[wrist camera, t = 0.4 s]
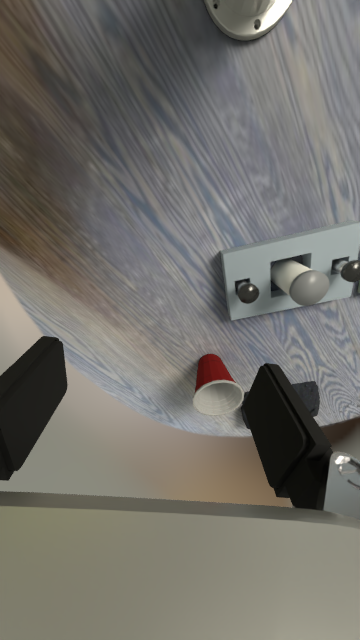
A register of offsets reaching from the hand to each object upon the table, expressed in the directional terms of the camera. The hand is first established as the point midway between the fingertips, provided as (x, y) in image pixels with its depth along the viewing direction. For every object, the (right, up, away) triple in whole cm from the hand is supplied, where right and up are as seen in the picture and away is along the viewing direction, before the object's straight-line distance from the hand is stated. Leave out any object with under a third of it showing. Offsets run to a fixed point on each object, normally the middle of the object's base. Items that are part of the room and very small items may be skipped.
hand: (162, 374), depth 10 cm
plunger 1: (+13, +10, +32) cm, 36 cm away
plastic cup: (+9, -8, +44) cm, 46 cm away
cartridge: (+22, +12, +33) cm, 41 cm away
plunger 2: (+31, +13, +31) cm, 45 cm away
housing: (+22, +12, +33) cm, 41 cm away
